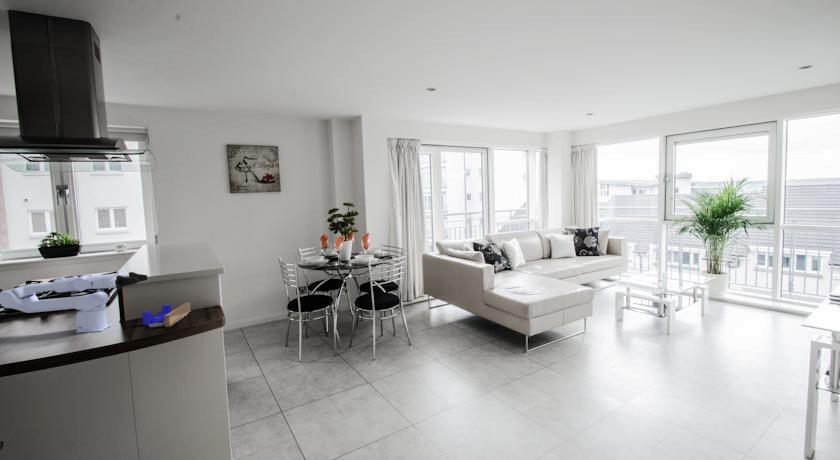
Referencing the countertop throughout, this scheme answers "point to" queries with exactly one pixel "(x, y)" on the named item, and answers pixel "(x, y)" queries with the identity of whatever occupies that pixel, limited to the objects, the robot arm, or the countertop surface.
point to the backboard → (176, 314)
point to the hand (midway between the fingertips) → (142, 279)
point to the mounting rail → (157, 324)
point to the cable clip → (159, 317)
